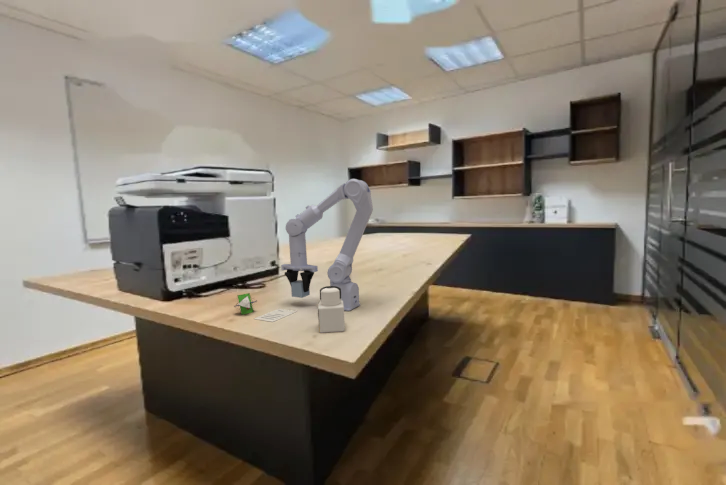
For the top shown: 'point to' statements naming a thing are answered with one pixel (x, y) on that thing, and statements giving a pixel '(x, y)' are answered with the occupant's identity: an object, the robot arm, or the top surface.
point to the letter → (275, 315)
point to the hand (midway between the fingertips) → (300, 290)
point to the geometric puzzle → (245, 303)
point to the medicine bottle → (331, 310)
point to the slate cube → (298, 289)
